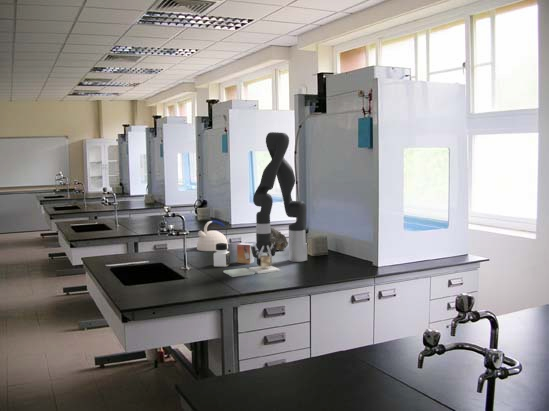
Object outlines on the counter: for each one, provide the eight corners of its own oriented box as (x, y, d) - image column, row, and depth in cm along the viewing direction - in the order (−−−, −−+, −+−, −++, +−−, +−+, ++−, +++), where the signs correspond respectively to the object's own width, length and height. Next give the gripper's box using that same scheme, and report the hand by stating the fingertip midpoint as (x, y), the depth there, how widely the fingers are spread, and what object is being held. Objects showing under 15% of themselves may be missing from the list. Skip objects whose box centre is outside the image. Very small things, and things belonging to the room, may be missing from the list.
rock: (270, 224, 334) (267, 217, 348) (254, 242, 336) (251, 234, 350) (292, 243, 339) (288, 235, 353) (276, 260, 341) (273, 252, 355)
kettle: (189, 249, 356) (188, 221, 354) (216, 245, 370) (215, 218, 368) (208, 252, 341) (207, 223, 339) (235, 248, 355) (234, 220, 353)
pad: (269, 267, 293) (269, 265, 293) (279, 271, 282) (279, 269, 282) (248, 269, 288) (248, 267, 288) (258, 273, 277) (258, 271, 277)
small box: (237, 263, 305) (236, 244, 305) (241, 261, 311) (240, 242, 310) (250, 264, 302) (249, 244, 302) (254, 262, 308) (254, 243, 307)
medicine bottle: (226, 266, 296) (225, 244, 295) (213, 266, 298) (213, 244, 297) (230, 264, 303) (229, 242, 302) (217, 263, 305) (217, 242, 304)
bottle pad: (245, 269, 287) (245, 268, 287) (254, 274, 276) (254, 272, 276) (223, 272, 282) (223, 270, 282) (232, 276, 271) (232, 274, 271)
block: (266, 264, 288) (266, 254, 288) (270, 266, 284) (270, 256, 283) (257, 265, 286) (257, 255, 286) (261, 267, 282) (261, 257, 281)
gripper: (272, 230, 290) (273, 262, 291) (247, 232, 284) (248, 265, 285) (279, 231, 283) (279, 264, 285) (253, 234, 277) (254, 267, 278)
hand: (264, 264), depth 285 cm, fingers closed on block, 5 cm apart
